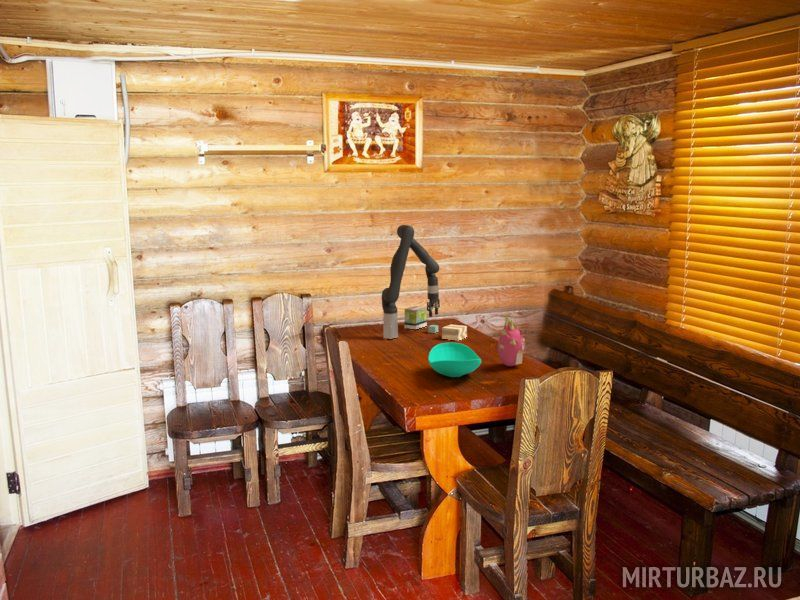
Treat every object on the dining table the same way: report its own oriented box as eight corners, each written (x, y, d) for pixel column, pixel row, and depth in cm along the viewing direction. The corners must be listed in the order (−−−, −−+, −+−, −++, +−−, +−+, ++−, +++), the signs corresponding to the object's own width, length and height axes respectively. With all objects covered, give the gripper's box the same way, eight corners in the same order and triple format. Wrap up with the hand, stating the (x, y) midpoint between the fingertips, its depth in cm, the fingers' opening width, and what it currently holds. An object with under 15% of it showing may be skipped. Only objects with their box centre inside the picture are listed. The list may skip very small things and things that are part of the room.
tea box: (416, 331, 478) (416, 309, 476) (404, 329, 484) (403, 308, 481) (427, 326, 491) (427, 306, 488) (415, 325, 496) (414, 305, 494)
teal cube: (435, 334, 468) (435, 326, 467) (428, 333, 471) (428, 326, 470) (438, 332, 472) (438, 325, 472) (431, 331, 475) (431, 324, 474)
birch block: (458, 341, 446) (458, 329, 444) (442, 339, 452) (441, 327, 451) (466, 337, 456) (466, 325, 454) (450, 336, 462) (450, 324, 461)
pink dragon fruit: (511, 371, 375) (512, 317, 370) (491, 367, 384) (491, 313, 379) (530, 364, 387) (530, 311, 382) (510, 360, 397) (510, 309, 391)
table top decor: (488, 385, 352) (488, 359, 350) (434, 387, 349) (433, 362, 347) (473, 364, 391) (472, 341, 388) (424, 366, 388) (423, 343, 386)
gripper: (433, 294, 459) (433, 318, 462) (442, 290, 471) (443, 314, 474) (423, 293, 462) (423, 317, 465) (432, 289, 474) (433, 313, 477)
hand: (433, 315), depth 469 cm, fingers open, 8 cm apart
